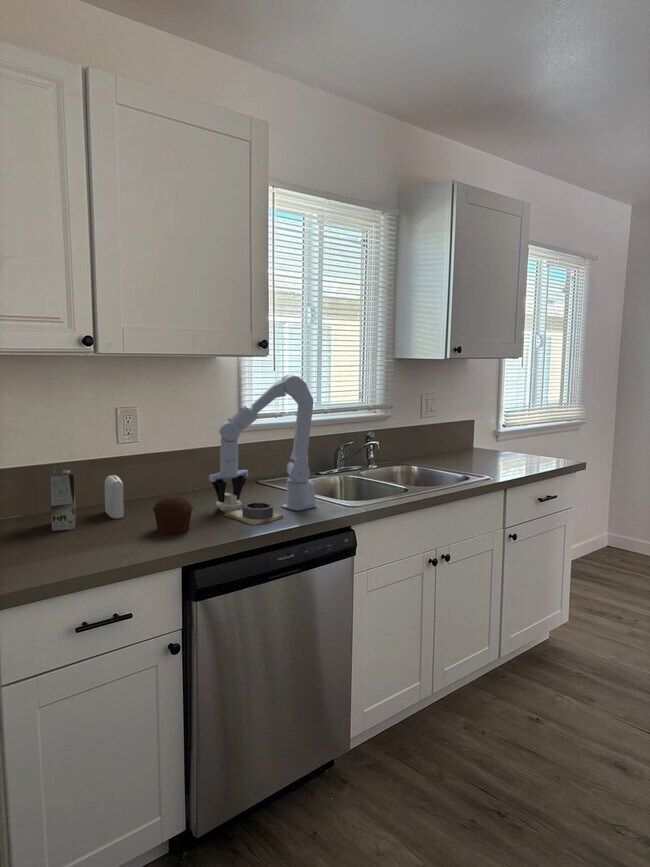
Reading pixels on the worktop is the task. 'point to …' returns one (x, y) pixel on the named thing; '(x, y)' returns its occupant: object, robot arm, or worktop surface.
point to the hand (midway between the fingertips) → (228, 500)
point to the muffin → (172, 515)
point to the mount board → (239, 516)
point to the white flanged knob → (229, 503)
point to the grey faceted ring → (258, 510)
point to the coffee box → (62, 499)
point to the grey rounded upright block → (114, 497)
